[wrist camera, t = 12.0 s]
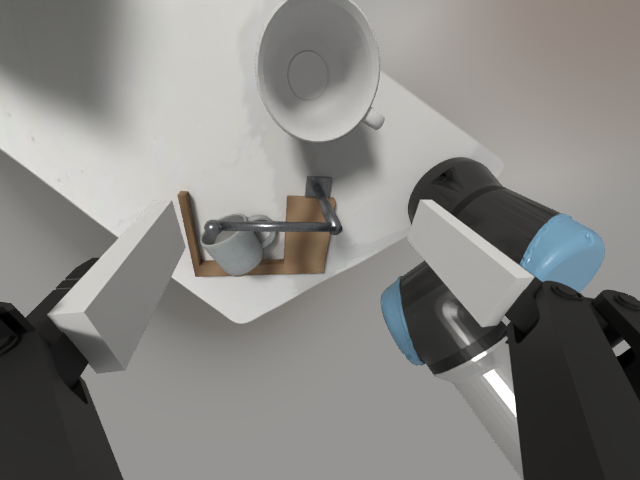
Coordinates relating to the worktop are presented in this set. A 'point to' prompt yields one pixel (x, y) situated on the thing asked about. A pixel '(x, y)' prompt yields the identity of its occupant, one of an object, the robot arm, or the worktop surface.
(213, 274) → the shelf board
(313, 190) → the bent metal bar
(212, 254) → the ceramic mug
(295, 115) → the teacup
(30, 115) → the worktop surface
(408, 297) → the robot arm
